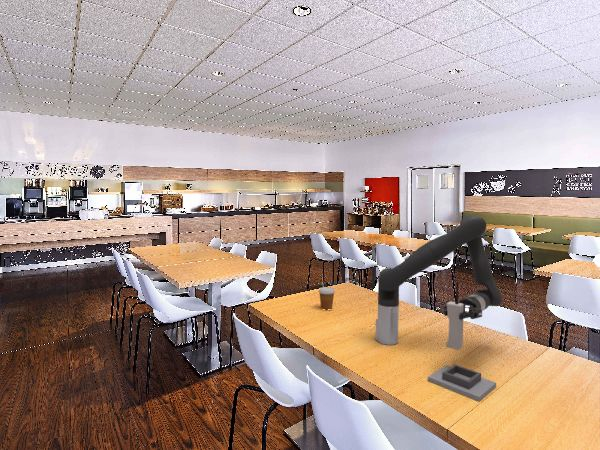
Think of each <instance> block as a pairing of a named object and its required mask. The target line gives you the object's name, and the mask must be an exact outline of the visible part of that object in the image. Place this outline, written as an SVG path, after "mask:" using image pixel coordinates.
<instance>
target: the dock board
mask: <svg viewBox="0 0 600 450" xmlns="http://www.w3.org/2000/svg"><path fill="white" fill-rule="evenodd" d="M427 381H428V382H430V383H432V384H435V385H437V386H440V387H442V388H444V389H447V390H450V391H451V392H455V393H458V394H460V395H462V396H465V397H466V398H469V399H472V400H475V401H478V402H481V400H483V399H484V398H485V397H487V395H488V394H490V393H491V392H492V391H493V390H495V388H497V382H495V381H492V380H489V379H487V378H484V377H482V373H481V372H478V371H475V370H473V369H470V368H467V367H464V366H462V365H458V364H457V363H456V364H454V363H453V365H447V364H446V365H444V366H443V367H441V368H439V369H438V370H436V371H435V372H433V373H432V374H430V375H428V376H427Z"/></svg>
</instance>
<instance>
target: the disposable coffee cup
mask: <svg viewBox="0 0 600 450" xmlns="http://www.w3.org/2000/svg"><path fill="white" fill-rule="evenodd" d="M335 292H336V291H335V288H333V287H331V286H326V287H325V286H324V287H319V290H318V293H319V301H320V308H322V309H325V310H328V309H332V310H333V306H334V305H333V304H334V298H335V297H334V296H335ZM322 309H321V310H322ZM325 310H324V311H325Z"/></svg>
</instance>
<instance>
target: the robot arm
mask: <svg viewBox="0 0 600 450" xmlns="http://www.w3.org/2000/svg"><path fill="white" fill-rule="evenodd" d="M486 229H487V222H486V220H485V219H484V218H483V217H481V216H479V215H474V214H468V215H465V216H464V217H462V219H461V220H460V222H459V225H457V226H456V227H455V228H453V229H452V230H451V231H449V232H447V233H445V234H442V235H440V236H437V237H434V239H433V238H432V239H431V240H429V241H427V242H426V243H424V244H423V245H421V246H420V247H418V248H417V249H416V250H414V251H413V252H412V253H411V254H410V255H409V256H408V257H407V258H406V259H405V260H403V261H402V262H401V263H400V264H398V265H396V266H394V267H393V268H391V267H385V268H383V269H382V270H381V271H380V272H379V274H378V279H377V280H378V286H377V287H378V288H377V290H378V291H377V318H376V319H375V336H374V337H375V339H374V340H376V341H377V342H378V343H379V344H382V345H388V346H392V345H396V344H398V343H399V320H400V319H399V316H400V315H399V314H400V313H399V312H400V310H399V309H400V287H401V286H402V285H403V284H404V283H406V281H408V280H409V279H411V278H412V277H414V276H416V275H417V274H419V273H422V271H425V270H426V269H428V268H430V267H431V266H434V265H435V264H437V263H438V262H440V261H441V260H443V259H444V258H445V257H447V256H448V255H450V254H451V253H453V252H454V251H455V250H456V249H458V248H459V247H462V246H463V245H465V244H466V246H467V250H468V254H469V256H470V261H471V266H472V267H471V268H472V272H473V277H474V281H475V283H476V284H477V285H479V286H483V287H486V289H477V290H475V291H474V293H473V294H472V295H468V296H466V297H463V298H461V299H460V300H458V303H463V304H464V309H463V312H462V313H460V314H459V319H460V320H462V319H463V320H465V319H469V318H470V319H471V320H475V319H478V318H482V317H483V311H485V310H486V309H488V308H489V307H499V306H501V305H502V302H503V295H502V293H501V291H500V289H499V287H498V286H497V283H496V282H495V279H494V276H493V272H492V271H493V270H492V267H491V264H490V260H489V258H488V255H487V252H486V250H485V247H484V243H483V242H484V241H483V237H482V236H483V234H484V233H485V232H486ZM447 303H448V302H446V303H445V304H444V305H443V315H444V317H448V314H447Z"/></svg>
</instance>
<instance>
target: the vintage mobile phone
mask: <svg viewBox="0 0 600 450" xmlns="http://www.w3.org/2000/svg"><path fill="white" fill-rule="evenodd" d="M455 286H456V288H455V289H456V290H455V301H449V302H446V303H447V314H448V316H447V318H448V340H447V342H446V344H445V347H446V348H448V349H453V350H457V351H460V350H461V349H462V348H463V345H464V319H462V320H460V319H459V314H460V313H462V312H463V309H464V304H463V303H458V302H459V282H458V281H456V284H455Z"/></svg>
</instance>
